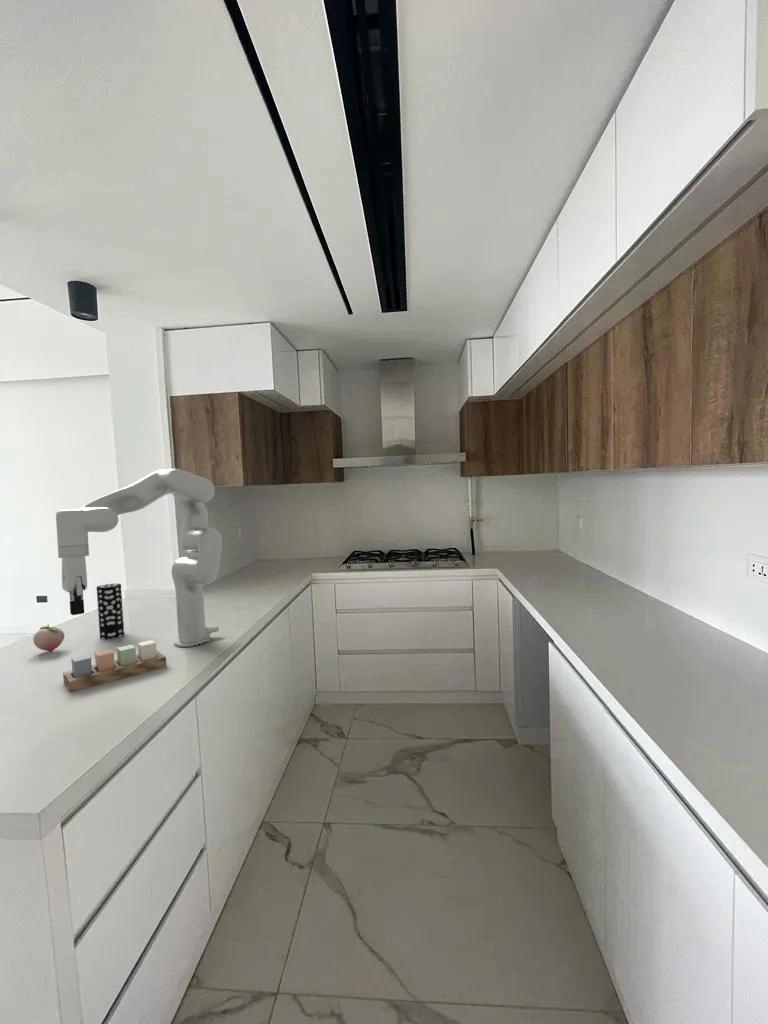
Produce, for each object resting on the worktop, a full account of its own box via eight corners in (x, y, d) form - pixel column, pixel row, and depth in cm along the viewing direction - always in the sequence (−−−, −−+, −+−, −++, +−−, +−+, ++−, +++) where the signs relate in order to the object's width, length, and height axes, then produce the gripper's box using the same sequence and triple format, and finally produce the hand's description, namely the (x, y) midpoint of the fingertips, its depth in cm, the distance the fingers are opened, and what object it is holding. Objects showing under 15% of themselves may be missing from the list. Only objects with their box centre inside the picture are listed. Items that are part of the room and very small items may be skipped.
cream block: (152, 655, 155) (151, 639, 155) (156, 658, 152) (155, 642, 152) (138, 658, 152) (137, 643, 152) (142, 661, 149) (141, 645, 149)
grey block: (89, 670, 143) (87, 654, 142) (92, 674, 140) (91, 657, 139) (72, 674, 140) (71, 658, 140) (75, 678, 137) (74, 661, 136)
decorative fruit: (27, 655, 167) (25, 627, 166) (49, 647, 175) (47, 621, 174) (49, 656, 165) (47, 628, 164) (70, 648, 173) (68, 621, 172)
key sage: (132, 659, 151) (131, 644, 151) (136, 663, 148) (135, 647, 147) (117, 663, 148) (116, 647, 148) (121, 667, 145) (120, 650, 145)
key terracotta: (111, 665, 147) (110, 649, 146) (114, 668, 144) (113, 652, 143) (95, 669, 144) (94, 652, 144) (99, 672, 141) (98, 656, 141)
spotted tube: (94, 638, 184) (91, 587, 183) (112, 632, 192) (109, 583, 191) (111, 639, 182) (108, 588, 181) (129, 633, 190) (125, 583, 189)
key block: (156, 658, 158) (155, 649, 158) (166, 666, 151) (166, 657, 151) (63, 682, 141) (63, 672, 141) (70, 692, 133) (69, 681, 133)
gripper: (53, 551, 141) (57, 612, 142) (63, 554, 130) (67, 621, 131) (83, 548, 146) (86, 607, 147) (94, 551, 135) (98, 615, 136)
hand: (77, 613), depth 139 cm, fingers closed
